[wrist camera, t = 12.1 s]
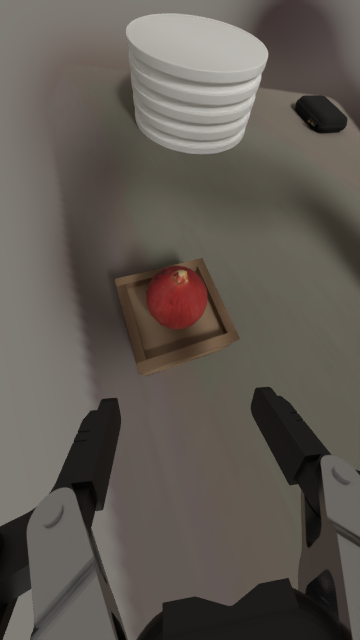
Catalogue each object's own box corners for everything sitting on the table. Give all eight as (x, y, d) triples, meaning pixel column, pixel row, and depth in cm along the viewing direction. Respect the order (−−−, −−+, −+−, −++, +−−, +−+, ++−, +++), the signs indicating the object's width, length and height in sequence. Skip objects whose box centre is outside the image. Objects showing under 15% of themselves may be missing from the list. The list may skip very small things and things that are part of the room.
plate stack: (151, 86, 50) (147, 4, 39) (246, 107, 50) (269, 31, 39) (120, 139, 40) (104, 48, 29) (239, 165, 40) (267, 85, 29)
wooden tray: (194, 283, 28) (202, 258, 22) (222, 349, 24) (239, 338, 19) (125, 302, 25) (114, 279, 20) (145, 376, 22) (138, 373, 17)
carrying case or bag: (287, 108, 52) (312, 137, 47) (294, 92, 49) (321, 121, 44) (316, 108, 54) (343, 135, 49) (324, 92, 51) (354, 120, 46)
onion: (139, 311, 20) (122, 267, 12) (175, 282, 22) (180, 228, 14) (174, 348, 19) (179, 324, 11) (209, 314, 20) (234, 274, 13)
